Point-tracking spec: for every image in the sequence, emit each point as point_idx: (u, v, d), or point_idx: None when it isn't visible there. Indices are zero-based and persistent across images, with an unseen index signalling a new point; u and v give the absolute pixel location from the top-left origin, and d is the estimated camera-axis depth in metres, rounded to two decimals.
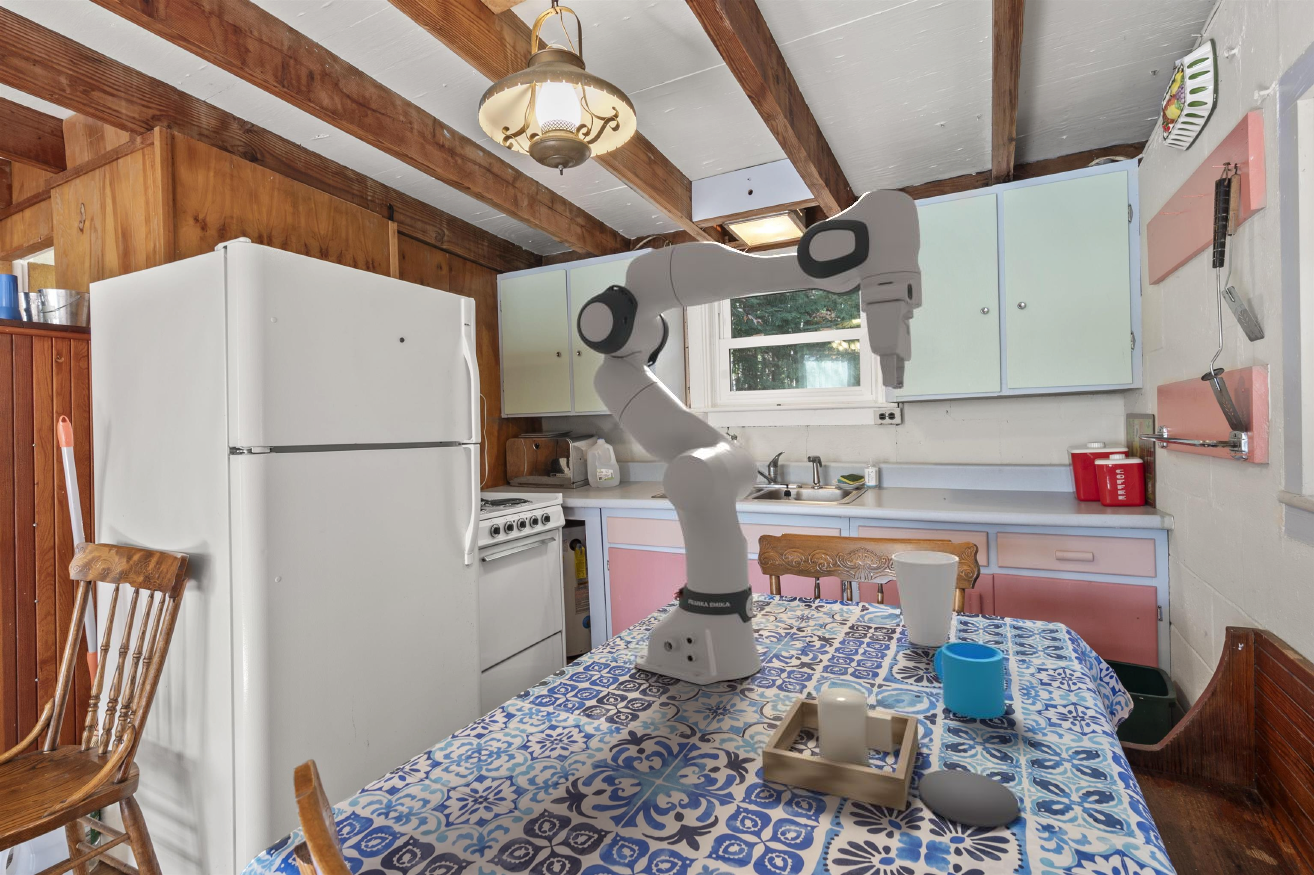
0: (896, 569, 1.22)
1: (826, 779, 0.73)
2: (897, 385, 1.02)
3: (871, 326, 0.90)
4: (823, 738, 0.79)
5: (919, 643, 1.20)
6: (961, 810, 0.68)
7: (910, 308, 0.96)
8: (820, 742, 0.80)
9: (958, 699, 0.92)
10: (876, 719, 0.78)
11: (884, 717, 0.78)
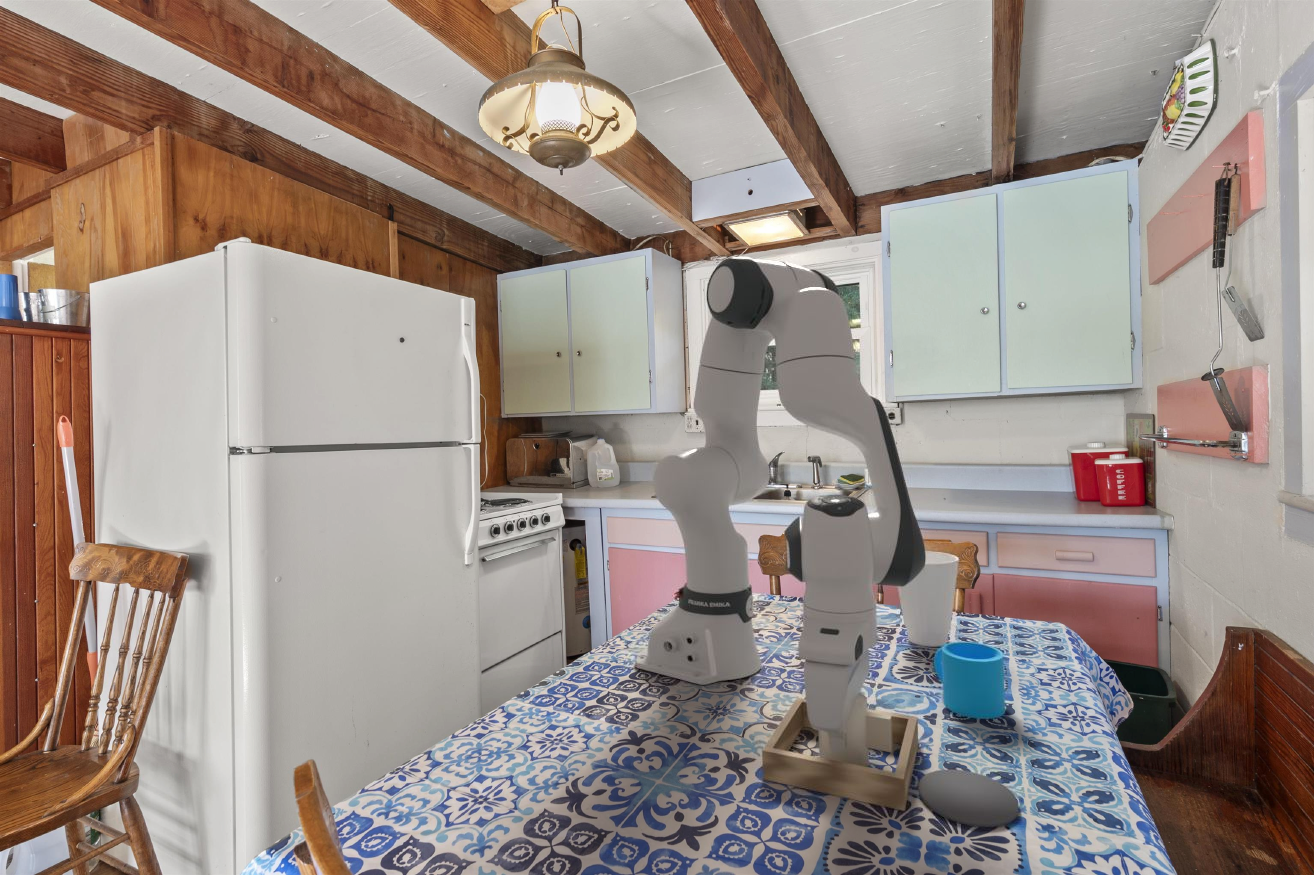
0: None
1: (826, 779, 0.73)
2: None
3: (810, 698, 0.72)
4: (823, 738, 0.79)
5: (919, 643, 1.20)
6: (961, 810, 0.68)
7: None
8: (820, 742, 0.80)
9: (958, 699, 0.92)
10: (876, 719, 0.78)
11: (884, 717, 0.78)
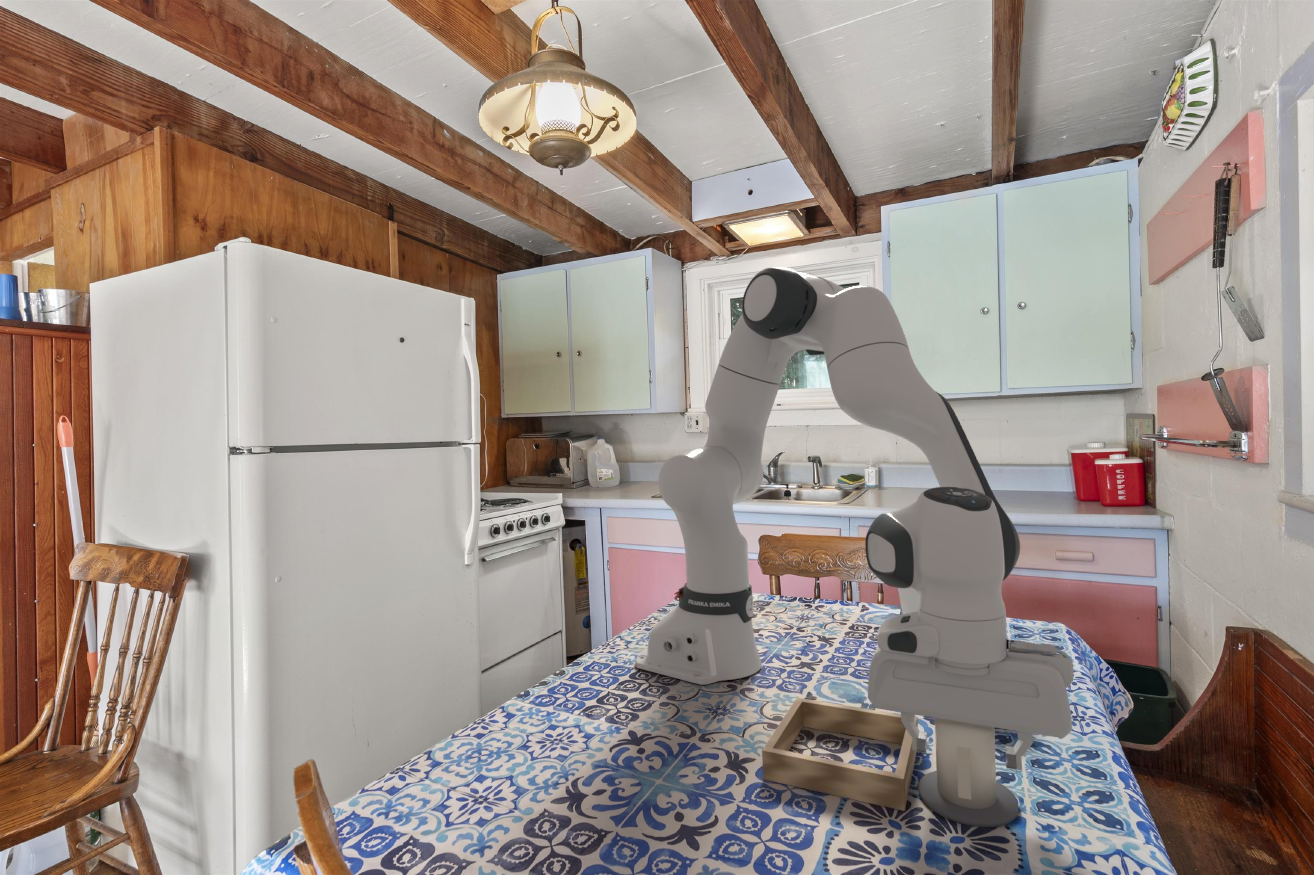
0: None
1: (826, 779, 0.73)
2: (1006, 761, 0.69)
3: None
4: None
5: None
6: (961, 810, 0.68)
7: (948, 661, 0.69)
8: None
9: None
10: None
11: (961, 756, 0.67)
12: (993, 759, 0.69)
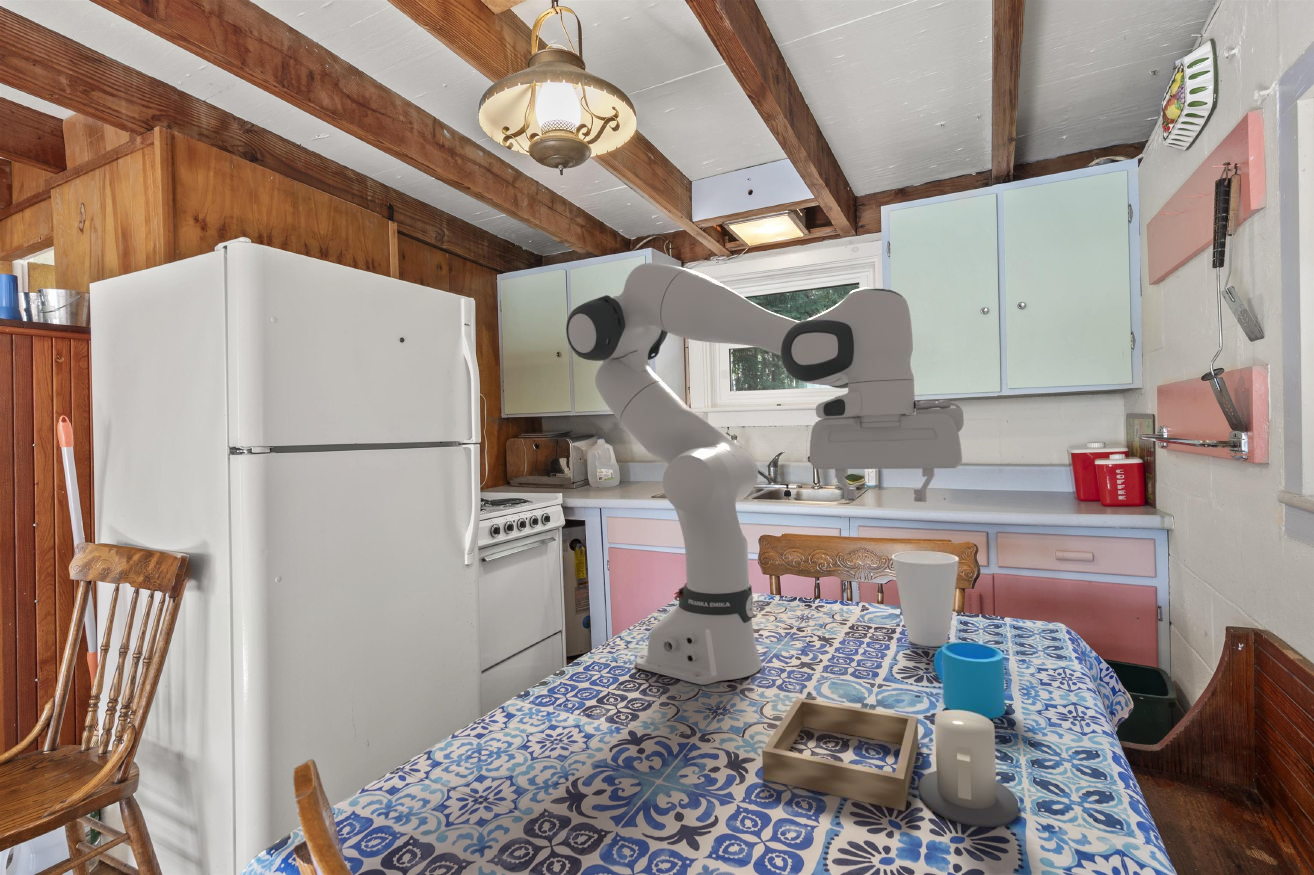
0: (896, 569, 1.22)
1: (826, 779, 0.73)
2: None
3: None
4: None
5: (919, 643, 1.20)
6: (961, 810, 0.68)
7: (869, 418, 0.88)
8: None
9: (958, 699, 0.92)
10: None
11: (961, 756, 0.67)
12: (993, 759, 0.69)
